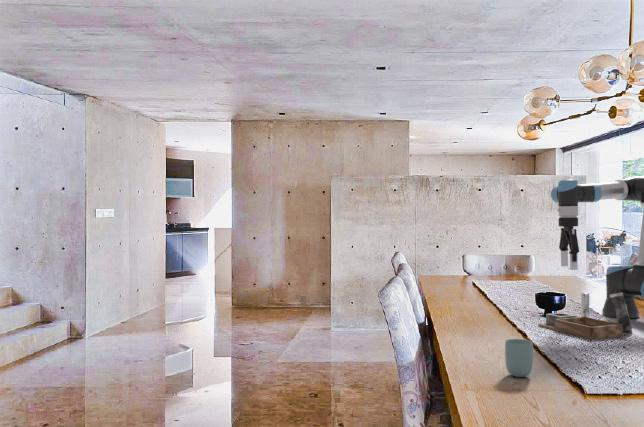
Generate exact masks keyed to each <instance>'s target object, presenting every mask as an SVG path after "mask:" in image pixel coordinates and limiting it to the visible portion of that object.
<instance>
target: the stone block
mask: <svg viewBox="0 0 644 427" xmlns="http://www.w3.org/2000/svg"><path fill="white" fill-rule="evenodd" d="M609 297H610V298H609V299H610V301H611V303H612V306H613V308H614V310H615V314H616V317H615V319H616V323H619V324H623V332H627V331H628V332H629V331H631V330H633V327H632V322H631V318H630V316H629V314H628V311H627V305H626V304H625V300H624V296H623V293H616V294H610V295H609Z"/></svg>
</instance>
